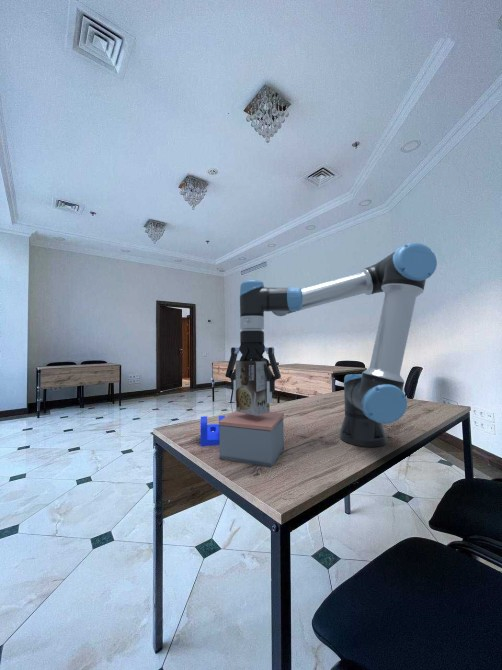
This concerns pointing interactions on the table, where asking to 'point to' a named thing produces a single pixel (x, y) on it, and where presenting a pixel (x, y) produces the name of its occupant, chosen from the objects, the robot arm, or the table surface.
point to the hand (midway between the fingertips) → (252, 401)
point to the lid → (252, 420)
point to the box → (251, 444)
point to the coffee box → (251, 387)
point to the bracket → (210, 432)
